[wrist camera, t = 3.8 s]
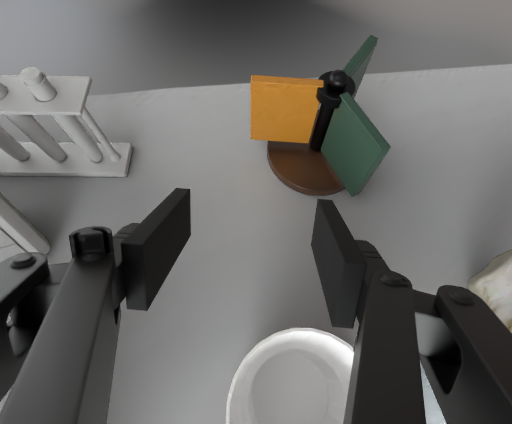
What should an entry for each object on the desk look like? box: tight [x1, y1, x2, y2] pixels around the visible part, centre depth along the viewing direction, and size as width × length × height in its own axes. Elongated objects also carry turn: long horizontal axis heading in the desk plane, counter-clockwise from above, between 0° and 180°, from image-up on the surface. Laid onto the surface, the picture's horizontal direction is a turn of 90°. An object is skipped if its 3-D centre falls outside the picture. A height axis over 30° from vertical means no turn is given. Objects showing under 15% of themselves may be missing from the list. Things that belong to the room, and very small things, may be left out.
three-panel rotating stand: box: [251, 35, 390, 197], centre depth 32 cm, size 14×14×11 cm
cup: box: [226, 328, 354, 424], centre depth 24 cm, size 10×10×10 cm
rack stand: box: [267, 110, 345, 195], centre depth 38 cm, size 12×12×1 cm
